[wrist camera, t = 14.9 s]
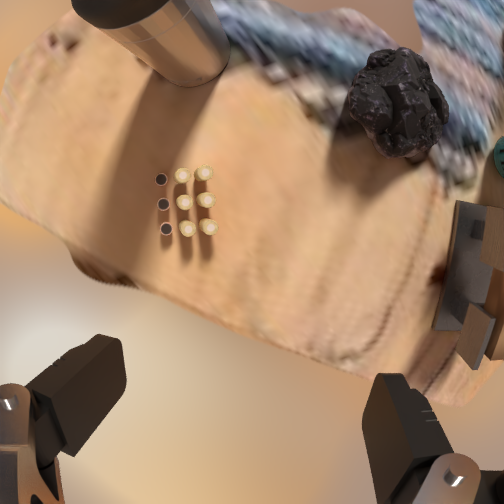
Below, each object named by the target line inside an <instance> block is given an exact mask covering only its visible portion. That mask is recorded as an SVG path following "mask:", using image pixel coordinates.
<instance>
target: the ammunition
mask: <svg viewBox="0 0 504 504" xmlns="http://www.w3.org/2000/svg"><path fill="white" fill-rule="evenodd" d="M212 176H213V169H212V168H211V167H210V166H209V165H202V166H201V167H199V168H197V169H196V170H195V172H194V177H195V179H196V180H197V181H206V180H209V179H211V178H212ZM190 177H191V174H190V171H189V170H188V169H186V168H180V169H178V170H177V171H176V172H175V174H174V181H175V182H176V183H178V184H183V183H186V182H188V181H189V179H190ZM167 180H168V178H167V176H166V175H165V174H164V173H159V174H157V175H156V177H155V183H156V184H157V185H158V186H163V185H165V184H166V183H167ZM196 202H197V204H198V205H199V206H201V207H205V208H211V207H212V206H214V204H215V202H216V198H215V196H214V195H213V194H212V193H210V192H205V193H200V194H199V195H198V196H197V198H196ZM176 205H177V206H178V207H179V208H180V209H182V210H188V209H190V208H191V207H192V205H193V199H192V197H191V196H189V195H180V196H179V197H178V198H177V199H176ZM157 206H158V208H159V209H160V210H162V211H165V210H167V209H168V208H169V206H170V202H169V200H168V199H167V198H160V199H159V200H158V202H157ZM199 228H200V229H201V230H202V231H203V232H204V233H205V234H207V235H214V234H216V233H217V231H218V224H217V222H216V221H214V220H211V219H209V218H203V219H201V220H200V222H199ZM179 230H180V231H181V233H182V234H183V235H184V236H186V237H191V236H193V235H194V234H195V232H196V226H195V225H194V224H193V223H192V222H190V221H189V220H182V221H181V222H180V223H179ZM160 231H161V233H162V234H163V235H169V234H171V233H172V231H173V227H172V225H171V224H170V223H169V222H163V223H162V224H161V225H160Z"/></svg>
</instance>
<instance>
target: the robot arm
mask: <svg viewBox="0 0 504 504" xmlns="http://www.w3.org/2000/svg"><path fill="white" fill-rule="evenodd" d="M71 2H72V6H73V8H74V10H75V12H76V13H77V14H78V15H79V16H80V17H82V18H83V19H84V20H86V21H87V22H89V23H90V24H92V25H93V26H95V27H96V28H98V29H99V30H101V31H102V32H103V33H105V34H106V35H108V36H109V37H111V38H112V39H114V40H115V41H117V42H118V43H119V44H121V45H122V46H124V47H125V48H126V49H128V50H129V51H130V52H132V53H133V54H135V55H136V56H137V57H139V58H140V59H141V60H143V61H144V62H145V63H147V64H148V65H149V66H151V67H152V68H153V69H155V70H156V71H157V72H158V73H160V74H161V75H162V76H164V77H165V78H166V79H167V80H169V81H170V82H172V83H174V84H175V85H179V86H184V87H192V86H198V85H201V84H204V83H206V82H208V81H210V80H212V79H213V78H215V77H216V76H217V75H219V74H220V72H221V71H222V70H223V69H224V68H225V66H226V64H227V63H228V60H229V57H230V50H231V49H230V43H229V41H228V39H227V36H226V34H225V32H224V30H223V28H222V24H221V22H220V20H219V18H218V16H217V14H216V12H215V10H214V8H213V6H212V4H211V2H210V0H71ZM126 381H127V379H126V371H125V365H124V357H123V350H122V344H121V341H120V340H119V339H117V338H113V337H109V336H105V335H101V334H97V335H95V336H94V337H93V338H91V339H90V340H89V341H88V342H86V343H85V344H82V345H80V346H78V347H75V348H73V349H70V350H69V351H68V352H66V353H65V354H64V355H63V356H61V357H60V359H57V360H56V361H55V362H54V363H53V365H50V366H49V367H48V368H46V369H45V370H44V371H43V372H42V373H40V374H39V375H38V376H37V377H35V378H34V379H33V380H32V381H30V383H28V384H27V385H26V386H22V385H19V384H13V383H10V384H4V385H1V386H0V504H65V501H64V496H63V490H62V483H61V476H60V468H59V461H58V458H57V455H58V453H59V452H60V451H62V452H64V453H66V454H68V455H70V456H72V457H75V455H76V454H77V453H78V451H79V450H80V449H81V448H82V446H83V445H84V444H85V442H86V441H87V440H88V439H89V437H90V436H91V434H92V433H93V432H94V431H95V429H96V428H97V427H98V426H99V424H100V423H101V422H102V420H103V419H104V418H105V417H106V415H107V414H108V413H109V412H110V410H111V409H112V408H113V406H114V405H115V404H116V403H117V401H118V400H119V399H120V398H121V396H122V395H123V393H124V391H125V388H126ZM362 430H363V435H364V440H365V444H366V449H367V454H368V458H369V463H370V468H371V473H372V478H373V483H374V489H375V494H376V499H377V504H504V470H503V471H485V470H480V469H479V467H478V465H477V464H476V463H475V462H474V461H473V460H472V459H471V458H469V457H467V456H465V455H462V454H458V453H454V451H453V449H452V447H451V445H450V443H449V441H448V439H447V437H446V435H445V433H444V431H443V429H442V427H441V425H440V423H439V421H437V417H436V415H435V413H434V412H432V408H431V406H430V404H429V402H428V400H427V398H426V397H425V396H423V395H422V394H421V393H420V392H419V391H418V390H416V389H410V387H409V385H408V383H407V381H406V379H405V377H404V376H403V374H401V373H378V374H377V375H376V377H375V380H374V383H373V386H372V389H371V392H370V395H369V398H368V401H367V404H366V407H365V409H364V413H363V418H362Z"/></svg>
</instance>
